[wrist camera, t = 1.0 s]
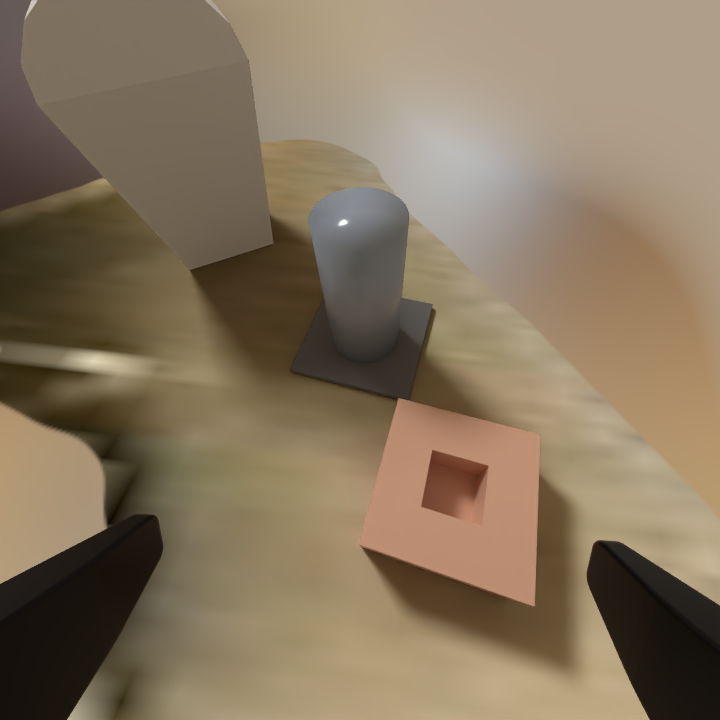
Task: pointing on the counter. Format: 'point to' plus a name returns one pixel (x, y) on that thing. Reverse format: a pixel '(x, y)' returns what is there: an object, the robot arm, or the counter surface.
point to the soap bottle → (157, 114)
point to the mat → (375, 377)
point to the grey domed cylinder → (361, 268)
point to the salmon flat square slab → (458, 500)
